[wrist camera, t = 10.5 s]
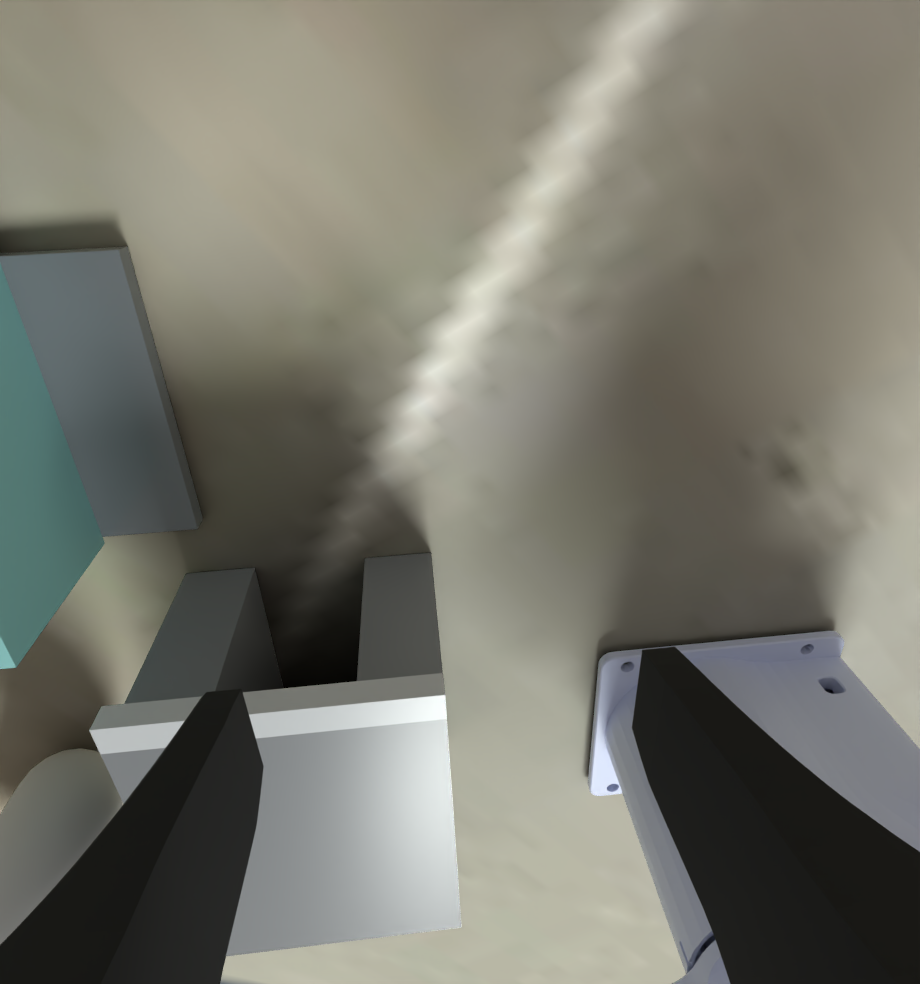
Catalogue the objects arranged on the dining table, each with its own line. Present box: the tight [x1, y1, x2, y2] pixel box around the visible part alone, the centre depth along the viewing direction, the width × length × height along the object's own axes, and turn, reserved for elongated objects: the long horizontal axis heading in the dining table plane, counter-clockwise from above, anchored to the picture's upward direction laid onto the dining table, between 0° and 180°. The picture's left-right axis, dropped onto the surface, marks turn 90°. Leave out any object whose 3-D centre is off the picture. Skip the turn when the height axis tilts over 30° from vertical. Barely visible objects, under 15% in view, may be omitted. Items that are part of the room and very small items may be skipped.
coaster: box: [0, 246, 203, 537], centre depth 17 cm, size 8×8×1 cm
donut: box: [0, 748, 123, 944], centre depth 20 cm, size 10×4×10 cm, turn 145°
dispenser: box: [89, 553, 461, 956], centre depth 20 cm, size 8×10×7 cm
